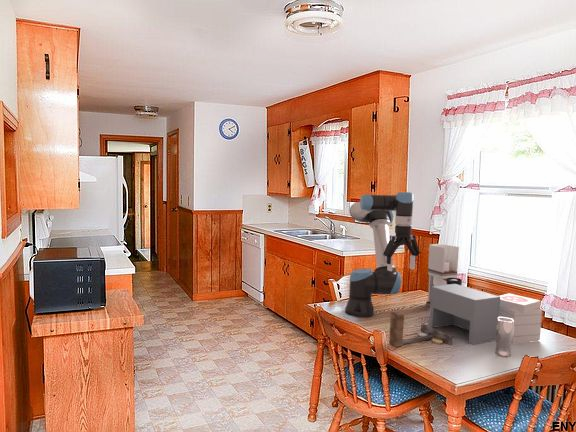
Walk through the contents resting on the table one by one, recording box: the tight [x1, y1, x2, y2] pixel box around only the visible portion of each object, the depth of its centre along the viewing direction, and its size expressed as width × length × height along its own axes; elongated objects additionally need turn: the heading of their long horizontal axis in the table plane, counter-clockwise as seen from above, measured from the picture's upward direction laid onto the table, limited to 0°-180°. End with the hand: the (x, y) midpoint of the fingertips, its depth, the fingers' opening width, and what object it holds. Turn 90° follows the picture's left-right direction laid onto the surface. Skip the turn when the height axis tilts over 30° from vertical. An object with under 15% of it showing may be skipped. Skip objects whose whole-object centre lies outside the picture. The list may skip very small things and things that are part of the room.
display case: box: [425, 243, 460, 307], centre depth 258 cm, size 11×11×35 cm
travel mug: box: [446, 277, 463, 286], centre depth 241 cm, size 8×8×20 cm
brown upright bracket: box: [388, 310, 453, 348], centre depth 202 cm, size 18×25×14 cm
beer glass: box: [494, 317, 514, 358], centre depth 190 cm, size 7×7×15 cm
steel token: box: [417, 330, 429, 337], centre depth 211 cm, size 5×5×2 cm
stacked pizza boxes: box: [498, 293, 543, 345], centre depth 217 cm, size 19×30×18 cm, turn 15°
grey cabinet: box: [428, 284, 500, 346], centre depth 215 cm, size 26×16×20 cm, turn 27°
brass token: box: [431, 337, 445, 345], centre depth 203 cm, size 5×5×2 cm
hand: (401, 269), depth 216 cm, fingers open, 13 cm apart
